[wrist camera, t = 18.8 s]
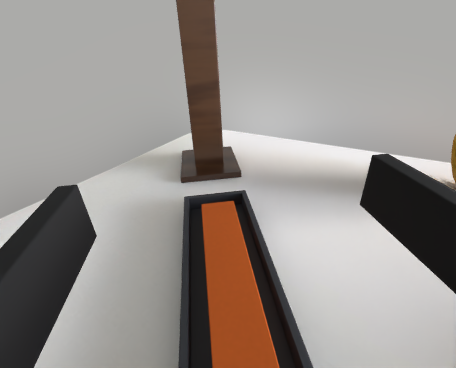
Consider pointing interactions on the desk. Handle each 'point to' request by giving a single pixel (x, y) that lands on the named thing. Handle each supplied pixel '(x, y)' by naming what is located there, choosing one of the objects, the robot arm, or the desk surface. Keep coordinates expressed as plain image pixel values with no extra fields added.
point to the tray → (264, 276)
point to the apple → (454, 159)
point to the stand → (203, 95)
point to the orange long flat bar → (233, 294)
